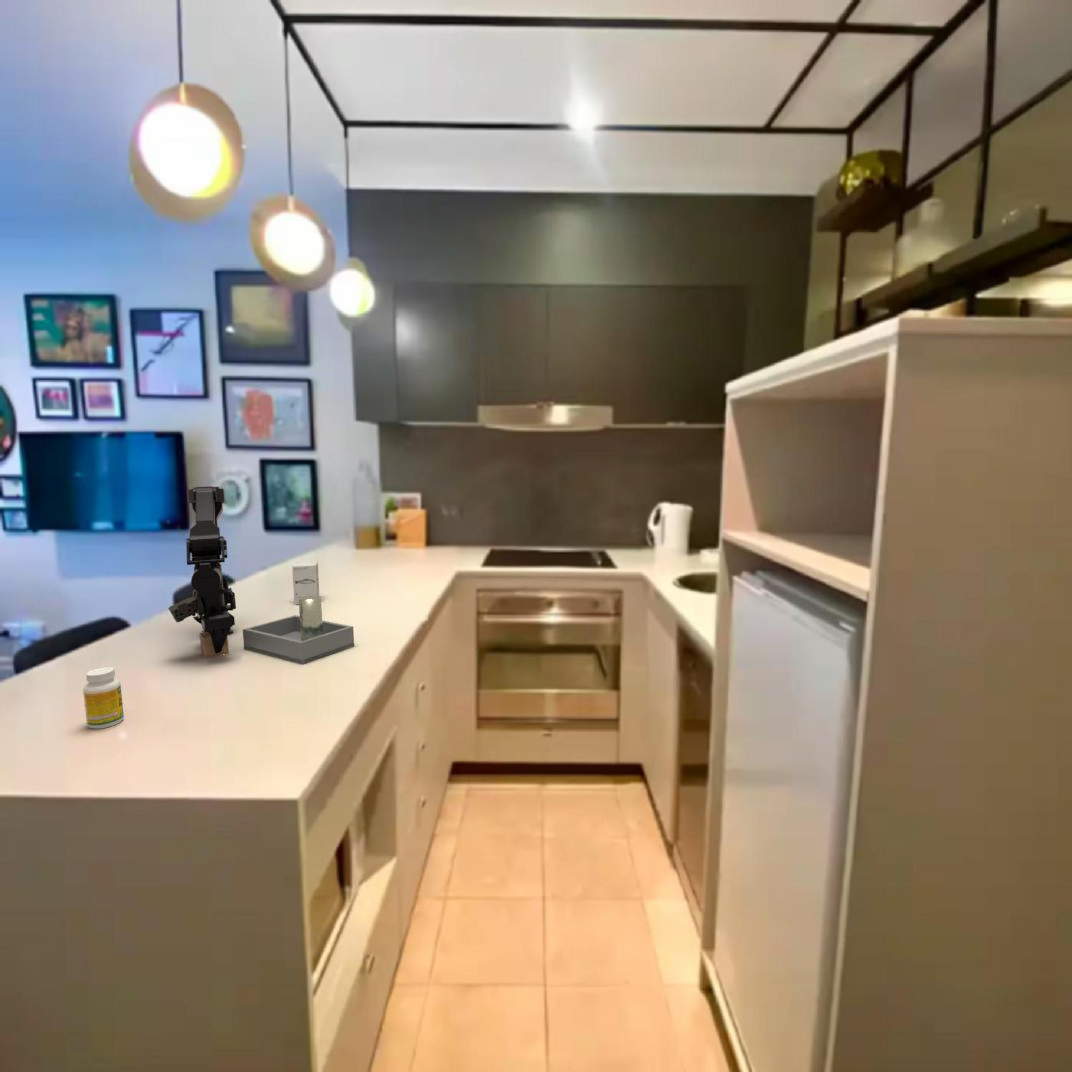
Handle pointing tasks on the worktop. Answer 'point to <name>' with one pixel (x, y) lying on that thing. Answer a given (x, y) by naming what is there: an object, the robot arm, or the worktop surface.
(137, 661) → the worktop surface
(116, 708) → the supplement bottle
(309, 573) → the supplement box
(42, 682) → the worktop surface
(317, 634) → the sage tin
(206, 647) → the walnut cube
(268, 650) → the tote
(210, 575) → the robot arm
